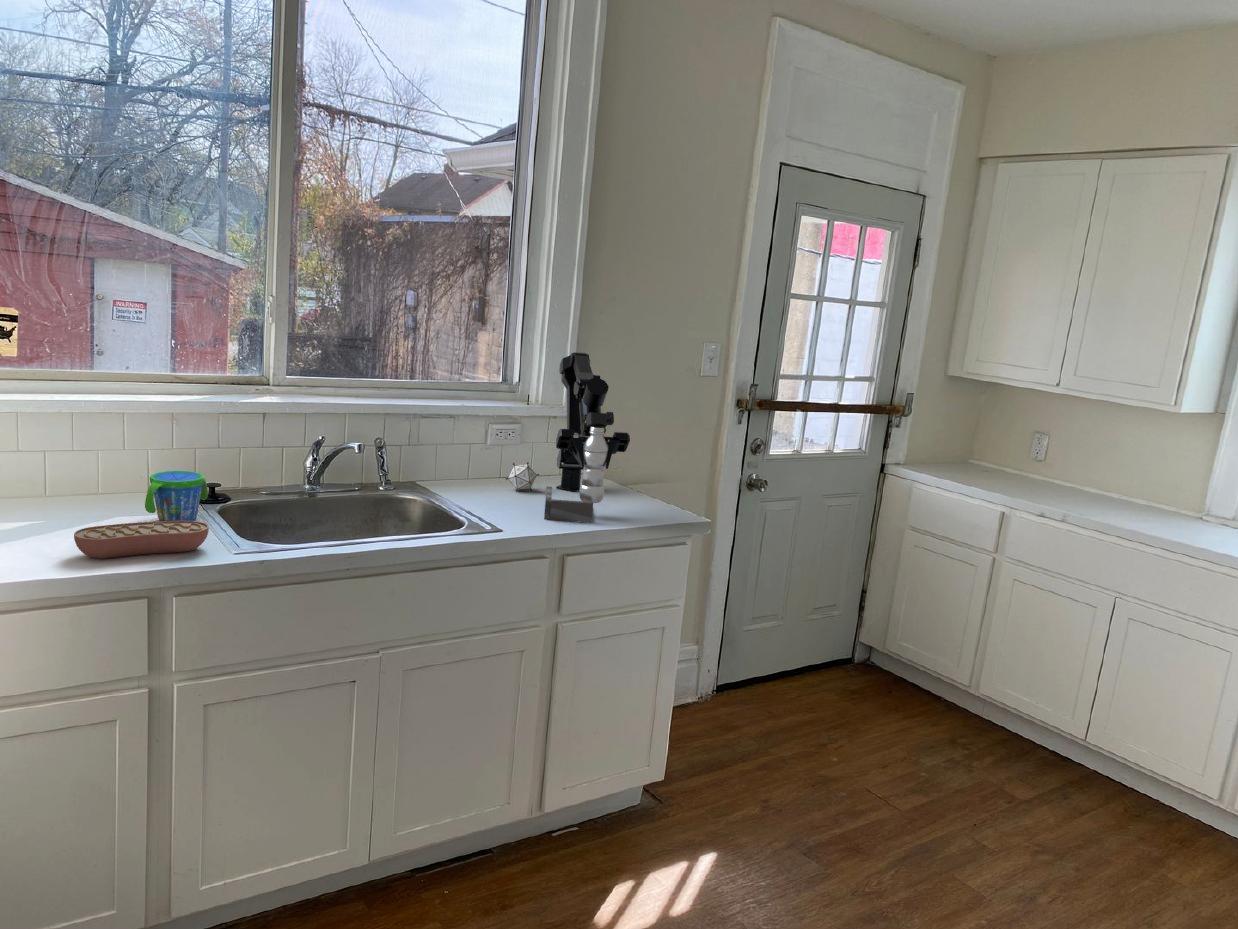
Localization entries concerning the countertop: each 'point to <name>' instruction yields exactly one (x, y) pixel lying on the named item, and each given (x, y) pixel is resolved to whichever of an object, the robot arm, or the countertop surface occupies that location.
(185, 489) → the snack cup
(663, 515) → the countertop surface
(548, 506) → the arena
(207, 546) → the countertop surface
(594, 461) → the plastic bottle
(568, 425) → the robot arm
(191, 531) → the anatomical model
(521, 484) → the game die
